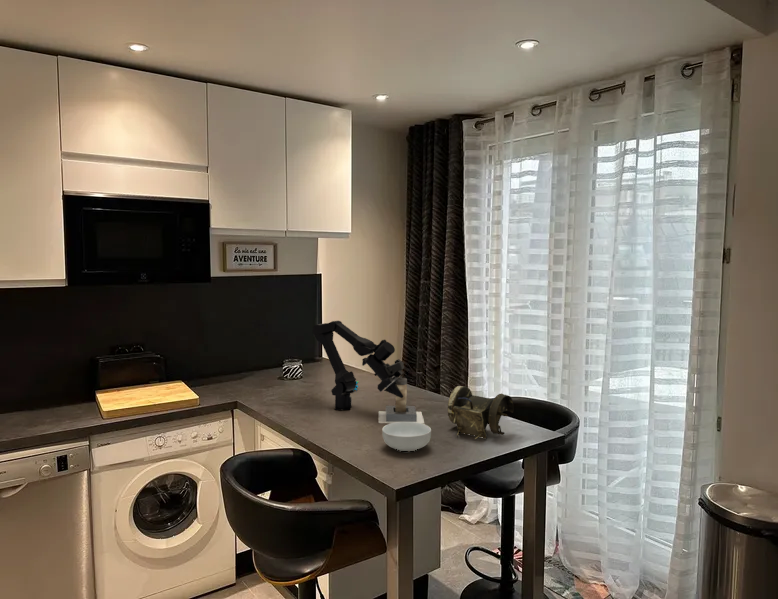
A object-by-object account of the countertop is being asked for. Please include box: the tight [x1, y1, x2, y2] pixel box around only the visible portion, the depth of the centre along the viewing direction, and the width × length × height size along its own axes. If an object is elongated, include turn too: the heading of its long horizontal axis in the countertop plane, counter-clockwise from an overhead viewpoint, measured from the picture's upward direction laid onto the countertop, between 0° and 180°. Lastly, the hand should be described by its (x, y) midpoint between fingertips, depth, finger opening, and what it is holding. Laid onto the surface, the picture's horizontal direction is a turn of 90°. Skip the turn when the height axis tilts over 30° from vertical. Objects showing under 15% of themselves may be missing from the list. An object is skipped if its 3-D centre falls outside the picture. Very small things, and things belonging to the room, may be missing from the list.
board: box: [378, 410, 426, 425], centre depth 225 cm, size 18×16×1 cm
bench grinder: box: [447, 385, 515, 440], centre depth 206 cm, size 20×22×20 cm
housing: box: [385, 405, 417, 422], centre depth 224 cm, size 12×12×3 cm
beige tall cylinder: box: [394, 377, 408, 412], centre depth 224 cm, size 4×4×15 cm
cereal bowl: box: [381, 422, 432, 452], centre depth 190 cm, size 17×17×7 cm
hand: (404, 395), depth 223 cm, fingers closed on beige tall cylinder, 4 cm apart
